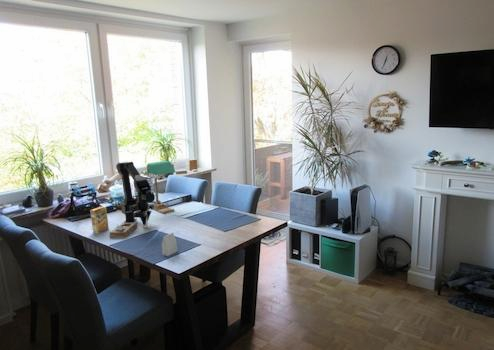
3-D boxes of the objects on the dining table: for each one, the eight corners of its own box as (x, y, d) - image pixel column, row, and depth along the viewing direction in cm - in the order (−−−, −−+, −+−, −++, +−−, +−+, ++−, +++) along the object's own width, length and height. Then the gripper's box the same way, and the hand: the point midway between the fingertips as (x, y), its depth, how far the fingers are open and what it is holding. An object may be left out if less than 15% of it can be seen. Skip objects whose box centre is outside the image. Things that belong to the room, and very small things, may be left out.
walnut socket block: (123, 228, 242) (122, 222, 241) (137, 228, 241) (136, 222, 240) (110, 239, 224) (109, 232, 224) (125, 239, 223) (124, 232, 223)
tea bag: (177, 251, 202) (175, 233, 200) (167, 256, 197) (166, 237, 195) (172, 250, 204) (170, 232, 202) (162, 254, 199) (161, 236, 197)
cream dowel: (144, 226, 242) (142, 213, 240) (148, 226, 241) (147, 212, 240) (142, 228, 239) (141, 214, 237) (147, 228, 238) (145, 214, 237)
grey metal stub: (119, 233, 230) (118, 224, 228) (124, 233, 229) (123, 224, 228) (117, 235, 227) (116, 225, 226) (122, 235, 226) (121, 225, 225)
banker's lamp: (165, 205, 292) (161, 159, 285) (179, 210, 276) (176, 162, 270) (146, 209, 283) (141, 162, 276) (159, 215, 267) (155, 165, 260)
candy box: (97, 235, 232) (94, 210, 229) (92, 234, 235) (89, 209, 232) (109, 230, 240) (106, 206, 237) (104, 229, 242) (101, 205, 239)
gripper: (136, 196, 247) (138, 219, 250) (123, 204, 228) (126, 229, 231) (153, 195, 245) (155, 219, 248) (142, 203, 227) (144, 229, 230)
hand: (145, 224), depth 240 cm, fingers closed on cream dowel, 3 cm apart
